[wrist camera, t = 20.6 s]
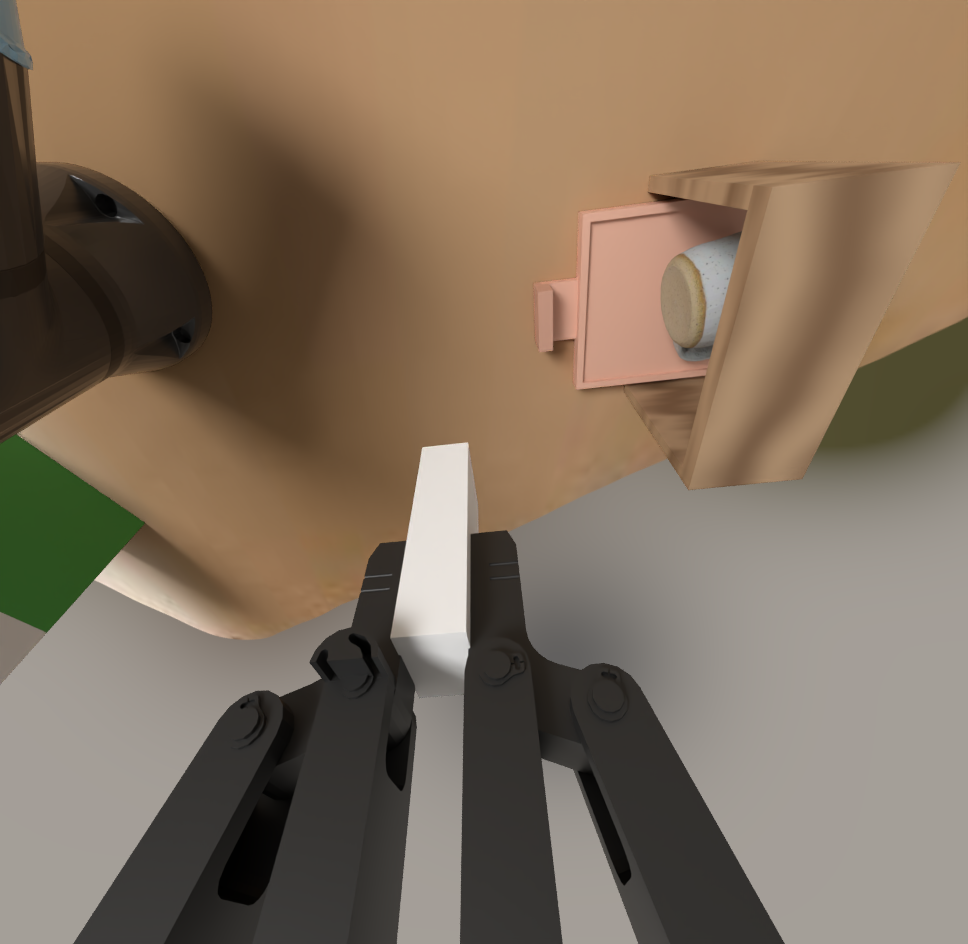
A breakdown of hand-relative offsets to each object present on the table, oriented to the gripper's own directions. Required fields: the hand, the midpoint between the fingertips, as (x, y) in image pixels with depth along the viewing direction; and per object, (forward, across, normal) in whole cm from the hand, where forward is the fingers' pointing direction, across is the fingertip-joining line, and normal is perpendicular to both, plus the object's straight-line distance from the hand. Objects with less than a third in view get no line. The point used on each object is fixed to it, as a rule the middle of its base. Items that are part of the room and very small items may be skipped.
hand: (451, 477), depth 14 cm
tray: (+26, +17, -3) cm, 32 cm away
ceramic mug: (+25, +17, -1) cm, 31 cm away
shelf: (+26, +19, -3) cm, 33 cm away
